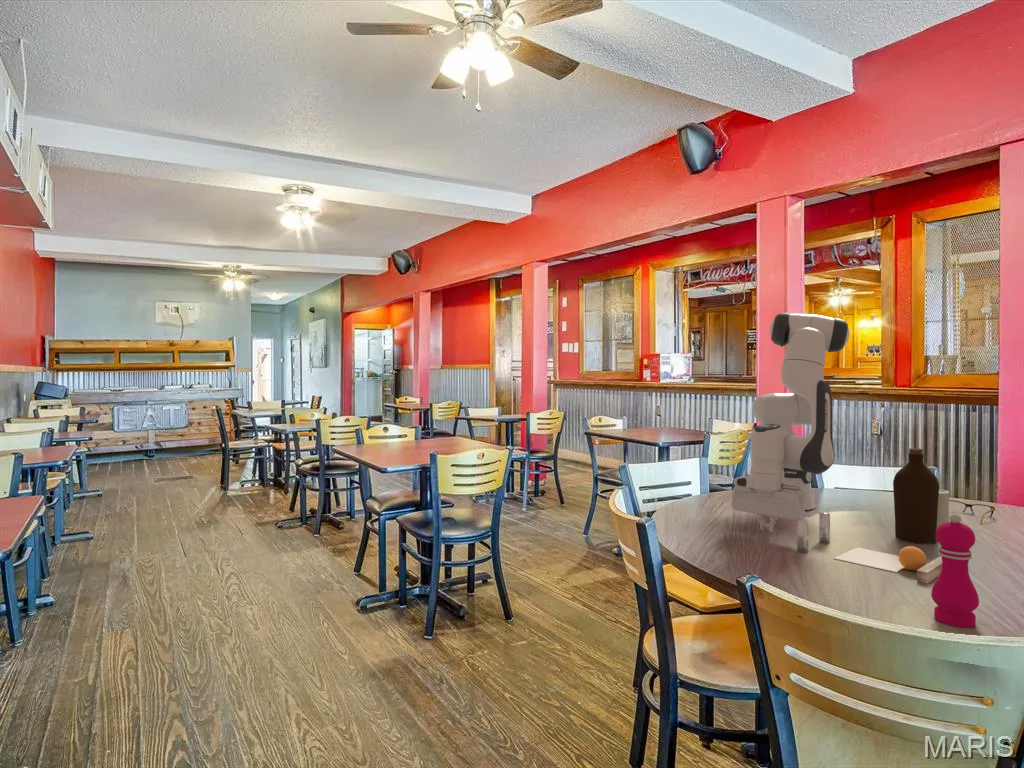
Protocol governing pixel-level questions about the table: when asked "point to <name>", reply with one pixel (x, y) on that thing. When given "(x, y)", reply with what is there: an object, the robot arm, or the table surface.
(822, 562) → the table surface
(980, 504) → the eyeglasses
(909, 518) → the olive oil
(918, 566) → the ball
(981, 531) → the table surface
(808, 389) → the robot arm
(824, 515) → the post
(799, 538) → the post
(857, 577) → the table surface
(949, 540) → the pepper mill
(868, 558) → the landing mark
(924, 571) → the wall
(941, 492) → the can
